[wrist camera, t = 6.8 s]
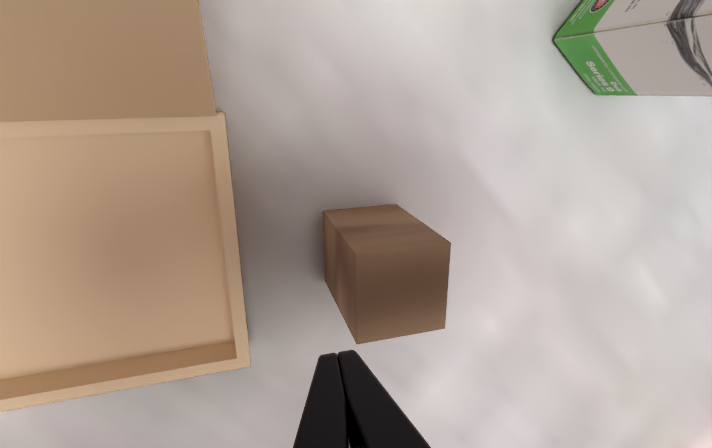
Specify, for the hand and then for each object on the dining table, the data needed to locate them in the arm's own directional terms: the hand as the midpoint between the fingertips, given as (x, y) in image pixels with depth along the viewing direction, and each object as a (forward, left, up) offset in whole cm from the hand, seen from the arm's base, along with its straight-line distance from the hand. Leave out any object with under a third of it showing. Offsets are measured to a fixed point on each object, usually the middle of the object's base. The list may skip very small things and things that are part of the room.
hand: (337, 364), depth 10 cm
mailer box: (-1, +10, -12) cm, 15 cm away
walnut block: (-2, -4, -12) cm, 13 cm away
